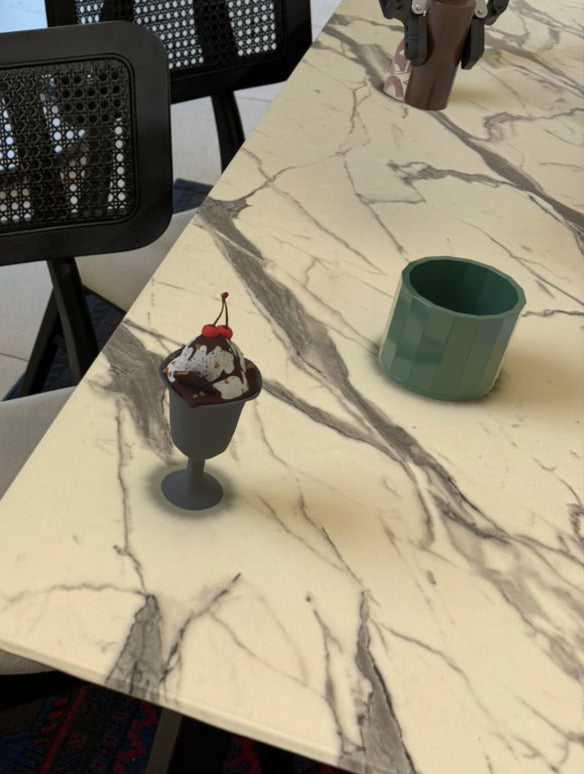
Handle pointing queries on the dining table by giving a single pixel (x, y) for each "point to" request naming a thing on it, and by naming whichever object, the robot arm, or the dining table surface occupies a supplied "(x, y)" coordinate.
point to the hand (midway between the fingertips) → (444, 63)
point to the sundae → (205, 408)
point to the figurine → (398, 73)
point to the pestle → (440, 54)
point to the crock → (450, 327)
